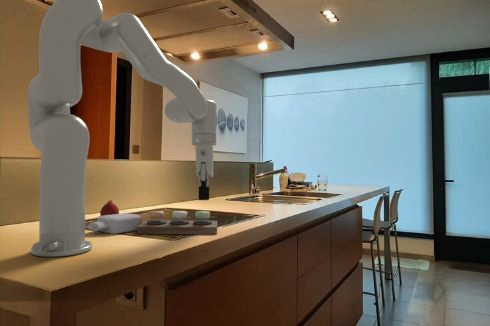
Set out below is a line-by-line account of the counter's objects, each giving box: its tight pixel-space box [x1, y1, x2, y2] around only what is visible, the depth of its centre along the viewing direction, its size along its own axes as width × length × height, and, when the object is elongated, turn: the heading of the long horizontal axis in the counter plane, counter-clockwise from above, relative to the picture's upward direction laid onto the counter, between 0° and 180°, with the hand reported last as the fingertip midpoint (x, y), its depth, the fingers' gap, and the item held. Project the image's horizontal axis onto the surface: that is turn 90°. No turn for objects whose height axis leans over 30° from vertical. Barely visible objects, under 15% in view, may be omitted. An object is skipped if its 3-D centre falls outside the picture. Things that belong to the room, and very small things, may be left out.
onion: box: [99, 199, 120, 216], centre depth 121 cm, size 6×6×8 cm
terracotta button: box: [148, 210, 165, 220], centre depth 112 cm, size 4×4×2 cm
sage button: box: [194, 210, 211, 220], centre depth 113 cm, size 4×4×2 cm
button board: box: [136, 219, 218, 235], centre depth 112 cm, size 12×23×3 cm, turn 94°
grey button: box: [171, 210, 188, 220], centre depth 112 cm, size 4×4×2 cm
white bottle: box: [85, 212, 142, 235], centre depth 108 cm, size 5×9×15 cm
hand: (204, 199), depth 113 cm, fingers closed
